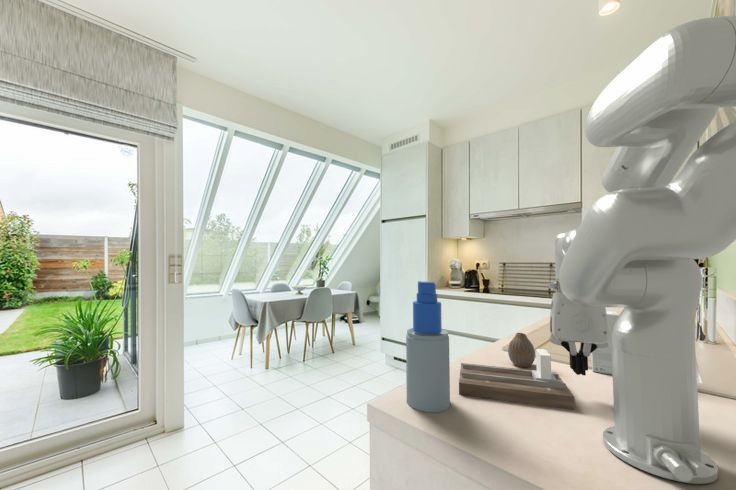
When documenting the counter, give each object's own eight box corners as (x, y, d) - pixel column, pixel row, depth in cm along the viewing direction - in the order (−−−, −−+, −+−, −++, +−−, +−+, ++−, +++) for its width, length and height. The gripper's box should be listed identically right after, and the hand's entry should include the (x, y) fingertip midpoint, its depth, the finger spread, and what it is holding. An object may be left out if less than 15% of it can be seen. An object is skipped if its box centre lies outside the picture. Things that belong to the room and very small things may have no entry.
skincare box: (622, 377, 78) (619, 315, 79) (590, 371, 82) (588, 312, 83) (620, 368, 85) (618, 311, 86) (591, 363, 89) (589, 308, 90)
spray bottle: (398, 404, 63) (398, 281, 65) (418, 389, 71) (417, 279, 72) (439, 416, 58) (438, 283, 60) (456, 399, 66) (454, 281, 67)
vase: (536, 363, 89) (535, 332, 89) (534, 370, 83) (533, 337, 83) (510, 359, 92) (509, 330, 93) (506, 366, 87) (505, 334, 87)
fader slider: (557, 385, 66) (556, 356, 67) (536, 383, 67) (535, 354, 68) (551, 377, 71) (550, 350, 71) (531, 375, 72) (531, 348, 73)
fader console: (574, 409, 61) (574, 391, 61) (459, 394, 68) (458, 377, 68) (556, 383, 74) (556, 368, 75) (461, 372, 81) (461, 359, 82)
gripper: (541, 288, 67) (543, 374, 66) (625, 290, 62) (629, 384, 61) (534, 285, 74) (537, 363, 73) (609, 287, 69) (612, 371, 68)
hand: (578, 372), depth 67 cm, fingers closed
